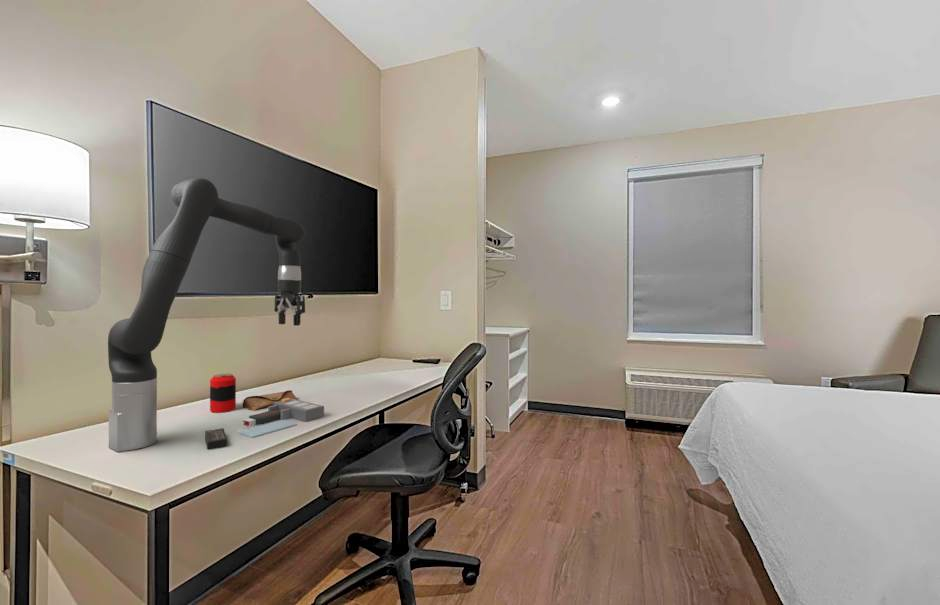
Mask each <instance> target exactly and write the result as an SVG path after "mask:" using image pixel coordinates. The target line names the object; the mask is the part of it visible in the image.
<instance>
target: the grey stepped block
mask: <svg viewBox="0 0 940 605" xmlns="http://www.w3.org/2000/svg"><path fill="white" fill-rule="evenodd" d="M275 409H277V410H281V419H280V421H281V420H285V421H286V420H288V419H293V420H297V421H302V422H305V423H307V422H309V421H313V420H317V419H320V417H321V418H323V416H324V417H325V406H324V405H321V404H316V403H313V402H309V401H304V400H299V399H298V400H296V399H290V398H286V399H281V401H279V402H275V403H274V406H270V407H268V408H267V411H271V410H275Z"/></svg>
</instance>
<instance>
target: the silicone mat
mask: <svg viewBox="0 0 940 605" xmlns="http://www.w3.org/2000/svg"><path fill="white" fill-rule="evenodd" d="M295 426H297V422H296V423H294V422H291V421H288V420H286V419H285V420H281V419H280V420H276V421H273V422H269V423H265V424H262V425H257V426H255V427H252V428H251V427H250V428H247V429H244V430H239V431H238V434H239V435H241V436H245V437H248V438H251V439H254V438H257V437H261V436H265V435H267V434H272V433H274V432H277V431H281V430H285V429H288V428H292V427H295Z"/></svg>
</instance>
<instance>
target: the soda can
mask: <svg viewBox="0 0 940 605" xmlns="http://www.w3.org/2000/svg"><path fill="white" fill-rule="evenodd" d="M236 379H237V378H236V377H235V376H234V375H233V373H219V374H213V376H212V378H210V380H209V382H210V383H209V411H210V412H211V413H214V414H222V413H228V412H231V411H232V412H233V411H235V409H236V408H237V407H236V405H237V403H236V400H237V399H236V398H237V395H236V394H237V390H236V389H237V388H236V384H237V380H236Z"/></svg>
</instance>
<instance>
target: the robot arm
mask: <svg viewBox="0 0 940 605" xmlns="http://www.w3.org/2000/svg"><path fill="white" fill-rule="evenodd" d="M170 194H171V195H170V196H171V199H172V201H173V203H174V204H175V206H176V207H178V209H177V211H176V214H175V216H174V218H173V220H172V221H171V222H170V223H169V225H168V226H167V227H166V228H165V229H164V231H163V232H162V233H161V234H160V236H158V238H157V239H156V241H155V242H154V244H153V245H152V247H151V249H150V251H149V254H148V256H147V258H146V260H145V263H144V264H143V265H144V266H143V270H142V274H141V287H140V288H141V290H140V295H139V299H138V301H137V304H136V305H135V308H134V310H133V312H132V313H131V316H130V317H129V318H124V319H121V320H118V321H117V322H115V323H114V324H113V325H112V326H111V328H110V330H109V332H108V336H107V353H108V354H107V356H108V368H109V372H110V375H111V409H110V410H109V411H108V448H109V449H111V450H113V451H115V452H117V453H119V452H124V451H131V450H137V449H142V448H146V447H149V446H152V445H153V444H155V443H156V442H157V441H158V369H157V367H156V365H155V363H154V361H153V358H152V352H153V351H154V350H156V349H157V347H158V346H159V344H160V343H161V341H162V339H163V335H164V332H165V328H166V324H167V322H168V321H167V320H168V318H169V314H170V311H171V307H172V306H173V304H174V300H175V298H176V295H177V294H178V291H179V289H180V287H181V284H182V282H183V280H184V278H185V275H186V274H187V271H188V268H189V266H190V263H191V261H192V258H193V255H194V253H195V250H196V248H197V245H198V242H199V240H200V237H201V235H202V231H203V229H204V228H205V226H206V223H207V222H208V220H209V218H210V217H212V218H215V219H219V220H222V221H226V222H229V223H233V224H236V225H238V226H242V227H244V228H247V229H249V230H253V231H256V232H258V233H261V234H263V235H268V236H274V240H275V244H276V248H277V251H278V269H277V292H278V293H280V294H278V295H277V294H275V295H274V310H273V311H274V312H275V313H277V314H278V324H279V325H286V313H287V310H288V309H290V310H291V311H292V313H293V320H292V321H293V326H300V325H301V315H302V314H305V313H306V298H305V296H304V295H299V293H301V292H302V270H301V252H300V251H299V250H297V249H296V248H295V244H294V243H298V242H301V241H302V240H303V239H304V238H305V236H306V230H305V228H304V226H303V225H302V224H301V223H299V222H297V221H295V220H293V219H288V218H284V217H281V216H276V215H274V214H271V213H269V212H267V211H264V210H262V209H259V208H257V207H253V206H249V205H247V204H246V205H245V204H241V203H236V202H233V201H228V200H225V199H222V198H220V197H219V192H218V189H217V187H216V186H215V184H214V183H213V182H211V181H210V180H209V179H206V178H202V177H201V178H200V177H195V178H193V177H192V178H190V179H186V180H182V181H180V182H178V183H176V184H175V185H173V187H172V189H171V192H170Z"/></svg>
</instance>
